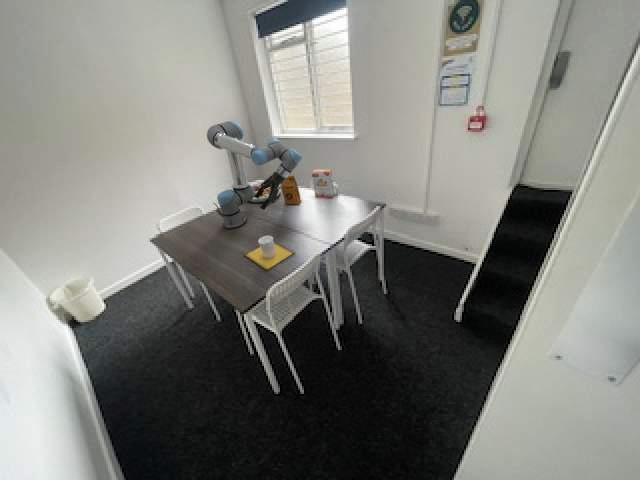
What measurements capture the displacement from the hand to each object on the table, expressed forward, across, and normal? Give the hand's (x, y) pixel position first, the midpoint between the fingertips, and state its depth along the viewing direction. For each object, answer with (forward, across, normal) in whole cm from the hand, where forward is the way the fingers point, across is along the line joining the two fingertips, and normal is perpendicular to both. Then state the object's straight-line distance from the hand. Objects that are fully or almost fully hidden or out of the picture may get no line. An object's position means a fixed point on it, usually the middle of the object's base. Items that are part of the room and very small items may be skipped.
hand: (259, 203), depth 153 cm
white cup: (+14, -27, -10) cm, 32 cm away
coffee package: (-2, +32, -41) cm, 52 cm away
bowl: (+14, +62, -34) cm, 72 cm away
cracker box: (-22, +27, -57) cm, 66 cm away
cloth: (+15, -26, -10) cm, 32 cm away
